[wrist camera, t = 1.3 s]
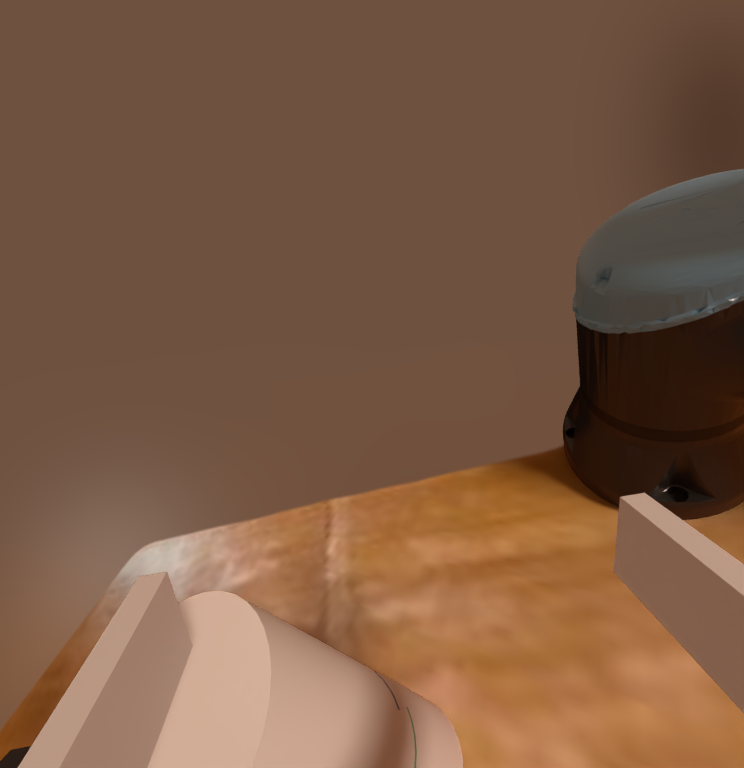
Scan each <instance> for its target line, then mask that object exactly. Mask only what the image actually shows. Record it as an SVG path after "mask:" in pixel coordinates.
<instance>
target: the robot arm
mask: <svg viewBox="0 0 744 768" xmlns="http://www.w3.org/2000/svg"><path fill="white" fill-rule="evenodd" d="M573 311H574V313H575V317H576V322H577V339H578V356H579V375H580V387H579V389H578V391H577V393H576V395H575V397H574V399H573V401H572V403H571V405H570V406H569V408H568V411H567V413H566V415H565V419H564V425H563V439H564V448H565V453H566V456H567V459H568V461H569V464H570V465H571V467H572V469H573V470H574V472H575V473H576V475H577V476H578V477H579V478H580V480H581V481H582V482H583V483H584V484H585V485H586V486H587V487H589V488H590V489H591V490H592V491H593V492H595V493H596V494H598V495H599V496H600V497H602V498H604V499H605V500H607V501H609V502H611V503H613V504H615V505H617V506H619V515H618V526H617V538H616V550H615V562H614V573H615V574H616V575H617V576H618V577H619V578H620V579H621V580H622V581H623V582H624V584H625V585H626V586H627V587H628V588H629V589H630V590H631V591H632V592H633V593H634V594H635V596H636V597H637V598H638V599H639V600H640V601H641V602H642V603H643V604H644V605H645V606H646V607H647V609H648V610H649V611H650V612H651V613H652V614H653V615H654V616H655V617H656V618H657V619H658V620H659V622H660V623H661V624H662V625H663V626H664V627H665V628H666V629H667V630H668V631H669V632H670V634H671V635H672V636H673V637H674V638H675V639H676V640H677V641H678V642H679V643H680V644H681V645H682V647H683V648H684V649H685V650H686V651H687V652H688V653H689V654H690V655H691V656H692V657H693V658H694V660H695V661H696V662H697V663H698V664H699V665H700V666H701V667H702V668H703V669H704V670H705V672H706V673H707V674H708V675H709V676H710V677H711V678H712V679H713V680H714V681H715V682H716V683H717V685H718V686H719V687H720V688H721V689H722V690H723V691H724V692H725V693H726V694H727V695H728V696H729V698H730V699H731V700H732V701H733V702H734V703H735V704H736V705H737V706H738V707H739V708H740V710H741V711H742V712H743V713H744V564H743V563H741V562H740V561H738V560H737V559H736V558H734V557H733V556H731V555H730V554H729V553H727V552H726V551H725V550H723V549H722V548H720V547H719V546H718V545H716V544H715V543H713V542H712V541H711V540H709V539H708V538H707V537H705V536H704V535H702V534H701V533H700V532H698V531H697V530H695V529H694V528H693V527H691V526H690V525H689V524H687V523H686V522H684V521H683V520H685V519H698V518H704V517H709V516H713V515H716V514H720V513H722V512H725V511H727V510H729V509H731V508H733V507H735V506H737V505H738V504H740V503H741V502H743V501H744V169H739V170H732V171H727V172H721V173H715V174H711V175H707V176H703V177H699V178H695V179H691V180H688V181H685V182H682V183H678V184H675V185H673V186H670V187H667V188H664V189H662V190H659V191H657V192H655V193H652V194H650V195H648V196H645V197H643V198H641V199H639V200H637V201H635V202H633V203H632V204H630V205H628V206H626V207H625V208H624V209H623V210H622V211H620V212H618V213H616V214H615V215H613V216H611V217H610V218H609V219H607V220H606V221H605V222H604V223H602V224H601V225H600V226H599V227H598V228H597V229H596V230H595V231H594V232H593V233H592V235H591V236H590V237H589V238H588V239H587V241H586V242H585V244H584V246H583V247H582V250H581V251H580V254H579V257H578V260H577V265H576V289H575V295H574V298H573ZM192 647H193V646H192V643H191V640H190V637H189V634H188V631H187V628H186V625H185V622H184V620H183V617H182V614H181V611H180V608H179V605H178V602H177V599H176V597H175V594H174V591H173V588H172V585H171V582H170V579H169V576H168V573H167V572H164V573H158V574H152V575H146V576H140V577H138V578H137V580H136V582H135V583H134V585H133V586H132V588H131V589H130V591H129V593H128V594H127V596H126V597H125V599H124V601H123V602H122V604H121V605H120V607H119V608H118V610H117V612H116V613H115V615H114V616H113V618H112V619H111V621H110V623H109V624H108V626H107V627H106V629H105V631H104V632H103V634H102V635H101V637H100V638H99V640H98V642H97V643H96V645H95V646H94V648H93V649H92V651H91V653H90V654H89V656H88V657H87V659H86V661H85V662H84V664H83V665H82V667H81V668H80V670H79V672H78V673H77V675H76V676H75V678H74V680H73V681H72V683H71V684H70V686H69V687H68V689H67V691H66V692H65V694H64V695H63V697H62V698H61V700H60V702H59V703H58V705H57V706H56V708H55V710H54V711H53V713H52V714H51V716H50V717H49V719H48V721H47V722H46V724H45V725H44V727H43V728H42V730H41V732H40V733H39V735H38V736H37V738H36V740H35V741H34V743H33V744H32V746H30V747H24V748H19V749H13V750H11V751H10V752H9V753H8V754H7V755H6V756H5V757H4V758H3V759H2V760H1V761H0V768H147V767H148V765H149V762H150V759H151V757H152V754H153V751H154V749H155V746H156V743H157V741H158V738H159V735H160V733H161V730H162V727H163V725H164V722H165V719H166V717H167V714H168V711H169V709H170V706H171V703H172V701H173V698H174V695H175V692H176V690H177V687H178V684H179V682H180V679H181V676H182V674H183V671H184V668H185V666H186V663H187V660H188V658H189V655H190V652H191V650H192Z"/></svg>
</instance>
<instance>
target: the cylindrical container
mask: <svg viewBox="0 0 744 768" xmlns="http://www.w3.org/2000/svg"><path fill="white" fill-rule="evenodd" d="M178 605H179V608H180V611H181V614H182V617H183V620H184V622H185V625H186V628H187V631H188V634H189V637H190V640H191V643H192V646H193V647H192V650H191V652H190V655H189V658H188V660H187V663H186V666H185V668H184V671H183V674H182V676H181V679H180V682H179V684H178V687H177V690H176V692H175V695H174V698H173V701H172V703H171V706H170V709H169V711H168V714H167V717H166V719H165V722H164V725H163V727H162V730H161V733H160V735H159V738H158V741H157V743H156V746H155V749H154V751H153V754H152V757H151V759H150V762H149V765H148V767H147V768H463V757H462V752H461V747H460V742H459V740H458V737H457V734H456V732H455V729H454V727H453V726H452V724H451V722H450V720H449V719H448V718H447V716H446V715H445V714H444V712H443V711H442V710H441V709H440V708H438V707H437V706H436V705H435V704H433V703H432V702H430V701H428V700H427V699H425V698H423V697H421V696H419V695H418V694H416V693H414V692H412V691H410V690H409V689H407V688H405V687H403V686H401V685H400V684H398V683H396V682H394V681H392V680H390V679H389V678H387V677H385V676H383V675H381V674H379V673H378V672H376V671H374V670H372V669H370V668H368V667H367V666H365V665H363V664H361V663H359V662H358V661H356V660H354V659H352V658H350V657H349V656H347V655H345V654H343V653H341V652H340V651H338V650H336V649H334V648H332V647H331V646H329V645H327V644H325V643H323V642H322V641H320V640H318V639H316V638H314V637H312V636H311V635H309V634H307V633H305V632H303V631H301V630H300V629H298V628H296V627H294V626H292V625H291V624H289V623H287V622H285V621H283V620H281V619H280V618H278V617H276V616H274V615H272V614H270V613H269V612H267V611H265V610H263V609H261V608H259V607H258V606H256V605H254V604H252V603H250V602H248V601H247V600H245V599H243V598H241V597H239V596H238V595H236V594H233V593H228V592H224V591H210V592H203V593H200V594H197V595H194V596H191V597H189V598H187V599H185V600H183V601H181V602H180V603H178Z"/></svg>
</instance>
